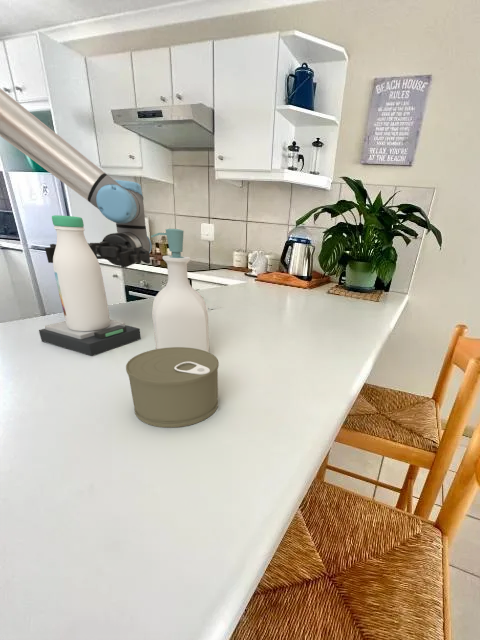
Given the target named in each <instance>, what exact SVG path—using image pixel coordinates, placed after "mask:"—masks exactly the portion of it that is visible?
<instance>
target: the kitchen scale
mask: <svg viewBox="0 0 480 640" xmlns="http://www.w3.org/2000/svg"><path fill="white" fill-rule="evenodd" d="M38 333H39V336H40V339H41V342H43V343H46V344H50V345H53V346H57V347H60V348H64V349H67V350H70V351H74V352H77V353H79V354H83V355H87V356H90V357H93V356H96V355H99V354H102V353H104V352H107V351H111V350H113V349H116V348H119V347H122V346H125V345H128V344H130V343H133V342H136V341H139V340H141V339H142V335H141V329H140V328H139V327H135V326H130V325H127V324H126V323H125V322H122V321H119V320H114V319H110V325H109V326H108V327H106V328H104V329H100V330H94V331H76V330H71V329H69V328H68V326H67V324H66V320H64V321H59V322H54V323H51V324H46V325H44V328H42V329H41V328H40V329H38Z"/></svg>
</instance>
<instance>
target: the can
mask: <svg viewBox="0 0 480 640" xmlns="http://www.w3.org/2000/svg"><path fill="white" fill-rule="evenodd" d="M219 364H220V363H219V359H218V358H217V356H216V355H215V354H213V353H211V352H210V351H209V352H207V351H204V350H200V349H195V348H186V347H170V348H161V349H156V348H155V349H151V350H147V351H143V352H141V353H139V354H137V355H135V356H133V357H131V358H130V359H129V360H128V361H127V363H126V365H125V371H126V374H127V376H128V380H129V386H130V391H131V397H132V402H133V408H134V414H135V416H136V418H137V419H138V420H139V421H141V422H143V423H144V424H147V425H149V426H153V427H158V428H170V429H171V428H181V427H189V426H192V425H195V424H198V423H201V422H202V421H205V420H206V419H208V418H210V417H211V416H212V415H214V414H215V412H216V411H217V410H218V408H219V407H218V406H219V398H218V397H219V383H218V381H219V379H218V378H219V377H218V376H219V375H218V374H219V373H218V372H219V371H218V370H219V366H220V365H219Z"/></svg>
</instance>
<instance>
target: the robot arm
mask: <svg viewBox="0 0 480 640" xmlns="http://www.w3.org/2000/svg"><path fill="white" fill-rule="evenodd" d="M0 137H1V138H2V139H4V140H5V141H6V142H7V143H9V144H10V145H11V146H13V147H14V148H15V149H17V150H18V151H20V152H21V153H22V154H24V155H25V156H26V157H28V158H29V159H31V160H32V161H33V162H34V163H36V164H37V165H39V166H40V167H41V168H43V169H44V171H45V170H46V171H47V172H48V173H50V174H51V175H52V176H53V177H55V178H56V179H58V180H59V181H60V182H61V183H63V184H64V185H65V186H67V187H68V188H70V189H71V190H73V192H75V193H76V194H78V195H79V196H81V197H82V198H84V200H85V201H87V202H89V203H90V204H91V205H92V206H93V207H95V208H97V209H98V210H99V212H100V214H102V216H103V217H105V218H106V220H109V221H111V222H113V223H115V226H116V227H115V228H116V231H117V232H113V233H108V234H107V235H105V236H104V237H103V238H102V239H101V241H100V242H90V243H89V242H87V243H88V245H89V246H90V248H91V250H92V251H93V253H94V254H95V256H96V258H97V260H106V261H108V262H109V263H111V264H113V265H115V266H118V267H121V268H128V267H130V266H133V265H135V264H142V262H143V263H144V264H151V256H150V254H151V251H152V249H153V247H152V245H153V244H152V241H151V239H150V237H149V236H148V232H147V226H146V215H145V206H144V204H145V203H144V195H143V190H142V186H141V184H140V183H139V182H137V181H136V182H135V181H131V180H130V181H129V180H121V179H114V178H112V177H111V176H110V175H108V174H107V173H106V172H104V171H103V170H102V168H100V167H99V166H97V165H96V164H95V163H94V162H92V161H91V160H90V159H89V158H87V157H86V156H85V155H84V154H83V153H81V152H80V151H79V150H77V149H76V148H75V147H73V146H72V144H70V143H69V142H68V141H66V140H65V139H64V138H62V136H61V135H59V134H58V133H56V132H55V131H54V130H53V129H51V128H50V127H49V126H47V125H46V123H44V122H43V121H41V119H39V118H38V117H37V116H35V115H34V114H33V113H31V111H29V110H28V109H27V108H25V107H24V106H23V105H22V104H20V103H19V102H18V101H16V100H15V99H14V98H13V97H11V96H10V95H9V94H8V93H7V92H6V91H4V90H3V89H2V88H0ZM55 248H56V243H51V244H49V247H44V250H45V254H46V258H47V262H48V264H49V263H50V264H53V256H54V252H55Z"/></svg>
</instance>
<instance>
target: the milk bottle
mask: <svg viewBox="0 0 480 640" xmlns="http://www.w3.org/2000/svg"><path fill="white" fill-rule="evenodd" d="M51 220H52V225H53V229H54V230H55V232H56V243H55V244H56V248H55V252H54V256H53V263H52V267H53V272H54V278H55V282H56V286H57V291H58V295H59V300H60V303H61V307H62V311H63V315H64V319H65V320H64V321H66V324H67V326H68V328H69V329H71V330H76V331H94V330H100V329H104V328H106V327H108V326H109V325H110V320H111V316H110V311H109V305H108V300H107V294H106V287H105V283H104V278H103V273H102V269H101V268H102V267H101V265H100V262H99V259H97V258H96V256H95V254H94V253H93V251H92V250H91V248H90V246H89V245H88V243H89V242H88V240H87V239H86V236H85V233H84V231H85V228H84V227H85V225H84V220H83V218H82V217H80V216H74V215H59V214H58V215H57V214H56V215H55V214H54V215H52V216H51Z"/></svg>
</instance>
